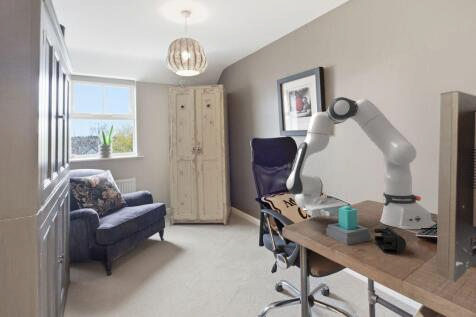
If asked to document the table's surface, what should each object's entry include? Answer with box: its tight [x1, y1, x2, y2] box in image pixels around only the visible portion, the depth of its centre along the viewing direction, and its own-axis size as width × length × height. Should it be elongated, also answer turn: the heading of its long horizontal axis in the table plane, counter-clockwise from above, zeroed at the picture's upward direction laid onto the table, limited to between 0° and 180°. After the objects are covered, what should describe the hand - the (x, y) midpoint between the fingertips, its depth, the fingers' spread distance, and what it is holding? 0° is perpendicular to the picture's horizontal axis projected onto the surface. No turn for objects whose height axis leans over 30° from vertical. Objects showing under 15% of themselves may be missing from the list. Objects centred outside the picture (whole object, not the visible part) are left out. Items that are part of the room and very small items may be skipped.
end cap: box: [374, 226, 407, 255], centre depth 96 cm, size 10×7×7 cm
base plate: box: [325, 222, 372, 246], centre depth 108 cm, size 12×12×4 cm
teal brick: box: [338, 205, 358, 231], centre depth 108 cm, size 5×5×10 cm
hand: (339, 213), depth 112 cm, fingers open, 8 cm apart
